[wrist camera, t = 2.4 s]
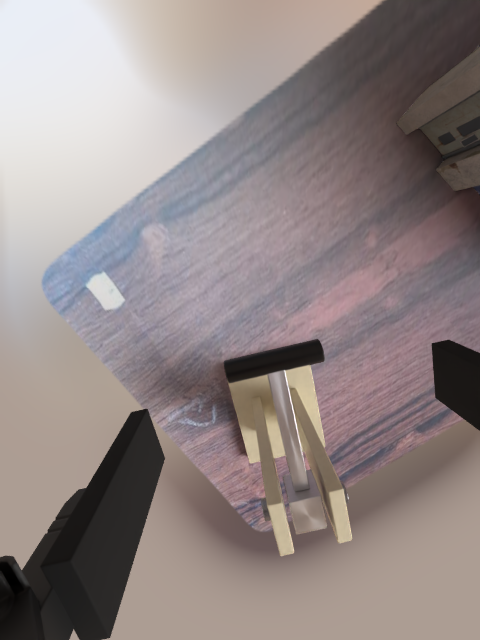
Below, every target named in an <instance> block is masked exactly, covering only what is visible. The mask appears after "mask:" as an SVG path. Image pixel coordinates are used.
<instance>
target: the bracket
mask: <svg viewBox="0 0 480 640" xmlns="http://www.w3.org/2000/svg"><path fill="white" fill-rule="evenodd" d="M285 372H286V377H287V382H288V386H289V391H290V396H291V400H292V405H293V410H294V415H295V419H296V424H297V429H298V434H299V438H300V443H301V448H302V452H305V455H306V457H307V460H308V463H309V466H310V468H311V470H312V472H313V475H314V478H315V481H316V483H317V486H318V489H319V491H320V494H321V498H322V501H323V504H324V506H325V509H326V512H327V514H328V517H329V520H330V522H331V525H332V528H333V531H334V533H335V536H336V539H337V542H338V543H343V542H347V541H352V535H351V529H350V524H349V518H348V512H347V506H346V503H349V498H348V495H347V491H346V488H345V485H344V483H343V482H342V481H340V480H339V478H338V476H337V474H336V472H335V470H334V468H333V466H332V464H331V461H330V459H329V457H328V455H327V453H326V451H325V449H324V447H325V441H324V436H323V430H322V425H321V419H320V414H319V409H318V403H317V398H316V393H315V387H314V382H313V376H312V371H311V366H310V365H307V366H303V367H299V368H294V369H290V370H286V371H285ZM227 381H228V380H227ZM228 385H229V388H230V392H231V396H232V399H233V403H234V407H235V411H236V414H237V418H238V422H239V426H240V429H241V433H242V437H243V440H244V444H245V448H246V452H247V455H248V459H249V463H250V464H251V463H255V462H259V461H261V468H262V475H263V482H264V488H265V495H266V498H262V499H261V504H262V510H263V514H264V518H265V521H270V520H271V523H272V527H273V530H274V534H275V538H276V542H277V546H278V549H279V553H280V555H281V556H283V555H288V554H293V553H294V548H293V543H292V539H291V534H290V529H289V525H288V520H287V515H286V511H285V506H284V501H283V497H282V492H281V487H280V483H279V478H278V473H277V469H276V464H275V460H274V458H277V457H282V456H286V455H285V450H284V446H283V441H282V437H281V433H280V428H279V424H278V420H277V415H276V411H275V406H274V402H273V398H272V393H271V389H270V385H269V380H268V376H267V375H264V376H260V377H256V378H251V379H247V380H243V381H238V382H234V383H229V382H228Z"/></svg>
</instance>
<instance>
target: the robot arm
mask: <svg viewBox="0 0 480 640" xmlns="http://www.w3.org/2000/svg"><path fill="white" fill-rule="evenodd" d="M432 355H433V370H434V384H435V398H436V399H438V400H439V401H441V402H442V403H443V404H445V405H446V406H447V407H449V408H450V409H451V410H453V411H454V412H455V413H457V414H458V415H459V416H461V417H462V418H463V419H465V420H466V421H467V422H469V423H470V424H471V425H473V426H474V427H475V428H477V429H478V430H480V353H478V352H476V351H474V350H471V349H469V348H467V347H464V346H462V345H460V344H458V343H455V342H453V341H451V340H445V341H441V342H436V343H432ZM164 460H165V457H164V454H163V451H162V448H161V446H160V443H159V440H158V437H157V435H156V432H155V429H154V426H153V423H152V420H151V417H150V415H149V412H148V409H144V410H139V411H135V412H132V413H131V414H130V415H129V417H128V419H127V420H126V422H125V424H124V426H123V427H122V429H121V431H120V432H119V434H118V436H117V438H116V439H115V441H114V442H113V444H112V446H111V447H110V449H109V451H108V453H107V454H106V456H105V458H104V460H103V461H102V463H101V464H100V466H99V468H98V469H97V471H96V473H95V474H94V476H93V478H92V480H91V481H90V483H89V485H88V486H87V488H84V489H79V490H78V491H77V492H76V493H75V494H74V495H73V496H72V497H71V498H70V499H69V500H68V501H67V502H66V503H65V504H64V506H63V507H62V509H61V510H60V512H59V514H58V515H57V517H56V520H55V521H53V523H52V524H51V526H50V527H49V529H48V533H47V534H45V535H44V537H43V538H42V540H41V542H40V543H39V545H38V546H37V548H36V549H35V551H34V552H33V554H32V556H31V557H30V559H29V560H28V562H27V563H26V565H25V567H24V568H23V570H21V569H20V567H19V565H18V564H17V562H16V560H15V559H14V557H13V556H3V557H0V640H69V639H70V636H71V634H72V631H73V629H74V630H75V632H76V634H77V636H78V637H79V639H80V640H102V639H107V638H110V636H111V632H112V629H113V626H114V623H115V620H116V617H117V613H118V610H119V607H120V604H121V600H122V597H123V593H124V591H125V587H126V584H127V581H128V577H129V574H130V571H131V568H132V564H133V561H134V558H135V555H136V551H137V548H138V544H139V542H140V538H141V535H142V532H143V528H144V525H145V522H146V519H147V515H148V512H149V509H150V505H151V502H152V499H153V496H154V492H155V489H156V486H157V483H158V479H159V476H160V473H161V469H162V466H163V463H164Z"/></svg>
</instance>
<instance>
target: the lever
mask: <svg viewBox="0 0 480 640" xmlns="http://www.w3.org/2000/svg"><path fill="white" fill-rule="evenodd" d="M320 362H324V351H323V348H322V345H321V343H320V341H319V340H318V339H315V340H311V341H307V342H302V343H298V344H294V345H290V346H285V347H281V348H277V349H272V350H268V351H264V352H260V353H255V354H251V355H247V356H243V357H238V358H234V359H230V360H225V361H224V368H225V373H226V377H227V380H228V382H229V383H234V382H238V381H243V380H247V379H251V378H256V377H260V376H264V375H267V376H268V380H269V385H270V389H271V393H272V398H273V402H274V406H275V411H276V415H277V420H278V424H279V428H280V433H281V437H282V441H283V446H284V450H285V455H286V459H287V463H288V468H289V472H290V474H288V475H284V476H283V480H284V484H285V489H286V493H287V497H288V502H289V506H290V510H291V514H292V518H293V523H294V527H295V531H296V534H301V533H305V532H310V531H314V530H319V529H324V528H327V522H326V518H325V513H324V508H323V503H322V498H321V494H320V491H319V489H318V486H317V483H316V481H315V478H314V475H313V472H312V470H311V469H310V470H306V467H305V462H304V457H303V453H302V448H301V443H300V438H299V434H298V429H297V424H296V419H295V415H294V410H293V405H292V400H291V396H290V391H289V386H288V382H287V377H286V372H285V371H286V370H290V369H294V368H299V367H303V366H307V365H312V364H316V363H320Z"/></svg>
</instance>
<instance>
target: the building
mask: <svg viewBox="0 0 480 640" xmlns="http://www.w3.org/2000/svg"><path fill="white" fill-rule="evenodd" d="M396 124H397V125H398V126H399V127H400V128H401V129H402V131H403V132H404V133H405V134H406V135H408V134H409V133H411V132H412V131H414V130H416V129H417V128H418V129H421V130H422V131H423V132H424V134H425V135H426V136H427V137H428V138H429V139H430V141H431V142H432V143H433V144H434V145H435V147H436V148H437V149H438V150H439V151H440V153H441V154H442V155H443V156H442V158H443V159H445V158H446V159H445V160H444V161H443V162H442V163H441V165H440V166H439V167H438V168H437V169H436V170H437V171H438V173H439V174H440V175H441V176H442V177H443V178H444V180H445V181H446V182H447V183H448V184H449V185H450V187H451V188H452V189H453V190H454V191H458V190H462V189H466V188H470V187H474V189H475V190H476V191H477V192H478V193H479V195H480V45H479V46H478V48H477V49H476V50H475V51H474V52H473V53H471V54H470V55H469V56H468V57H466V58H465V59H464V60H463V61H461V62H460V63H459V64H457V65H456V66H455V67H454V68H452V69H451V70H450V71H449V72H447V73H446V74H445V75H444V76H442V77H441V78H440V79H438V80H437V81H436V82H435V83H433V84H432V85H431V86H430V87H428V88H427V89H426V90H425V91H424V92H423V93H422V95H421V96H420V97H419V98H418V99H417V100H416V101H415V103H414V104H413V105H412V106H411V107H410V108H409V109H408V111H407V112H406V113H405V114H404V115H403V116H402V117H401V118H400V120H399V121H398V122H397V123H396Z"/></svg>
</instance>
